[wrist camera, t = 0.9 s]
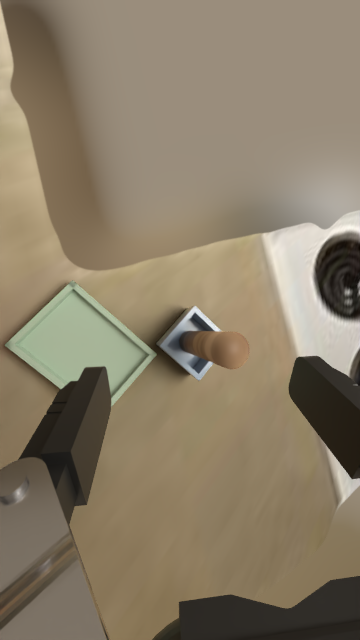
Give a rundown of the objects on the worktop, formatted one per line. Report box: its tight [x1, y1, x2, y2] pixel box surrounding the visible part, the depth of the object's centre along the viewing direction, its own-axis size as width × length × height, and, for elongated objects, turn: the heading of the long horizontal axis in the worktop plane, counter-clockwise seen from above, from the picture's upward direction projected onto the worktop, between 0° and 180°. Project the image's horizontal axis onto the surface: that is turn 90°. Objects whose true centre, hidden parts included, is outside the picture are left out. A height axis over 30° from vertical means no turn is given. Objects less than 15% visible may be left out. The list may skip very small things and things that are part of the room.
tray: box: [5, 280, 157, 407], centre depth 32 cm, size 16×12×2 cm
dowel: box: [179, 331, 249, 369], centre depth 28 cm, size 4×4×15 cm
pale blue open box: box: [156, 306, 221, 381], centre depth 34 cm, size 8×8×4 cm
